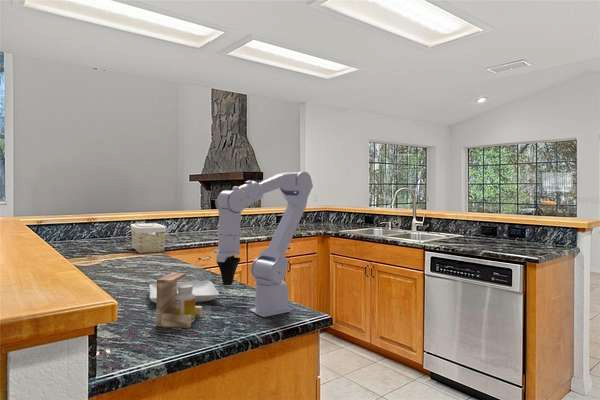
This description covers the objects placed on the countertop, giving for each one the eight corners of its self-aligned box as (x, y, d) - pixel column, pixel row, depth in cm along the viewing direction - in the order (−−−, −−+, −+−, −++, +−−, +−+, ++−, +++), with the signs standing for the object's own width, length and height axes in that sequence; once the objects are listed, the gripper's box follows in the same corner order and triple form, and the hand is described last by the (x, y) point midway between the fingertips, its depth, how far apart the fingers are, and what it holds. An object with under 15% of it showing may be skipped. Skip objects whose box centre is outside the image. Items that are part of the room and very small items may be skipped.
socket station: (202, 316, 116) (202, 273, 115) (188, 327, 106) (189, 281, 106) (172, 314, 117) (172, 272, 117) (156, 325, 107) (156, 279, 107)
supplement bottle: (197, 318, 114) (197, 283, 114) (192, 324, 109) (192, 288, 109) (177, 318, 114) (178, 283, 114) (171, 324, 109) (172, 288, 109)
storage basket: (166, 252, 232) (166, 226, 232) (136, 253, 224) (136, 227, 223) (157, 246, 253) (158, 223, 252) (129, 248, 244) (129, 223, 244)
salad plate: (210, 288, 150) (210, 279, 150) (220, 304, 130) (220, 293, 130) (148, 292, 143) (149, 282, 143) (149, 309, 123) (149, 298, 123)
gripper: (223, 231, 118) (221, 278, 118) (205, 236, 104) (203, 289, 104) (247, 233, 117) (245, 280, 117) (232, 237, 103) (230, 291, 103)
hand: (227, 284), depth 111 cm, fingers closed
